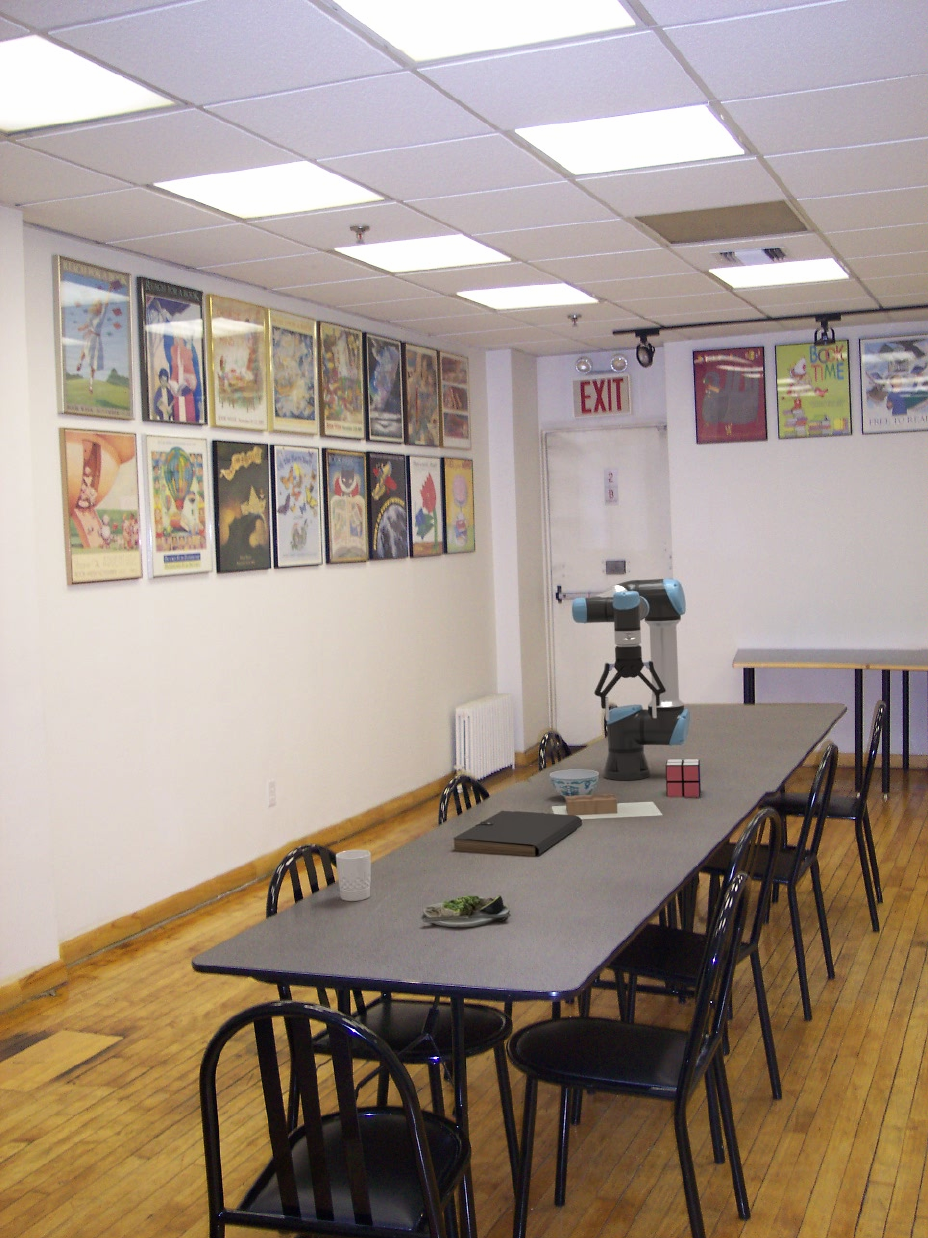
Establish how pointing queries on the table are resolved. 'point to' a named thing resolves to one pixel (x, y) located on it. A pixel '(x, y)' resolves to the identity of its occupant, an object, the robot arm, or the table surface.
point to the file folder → (517, 833)
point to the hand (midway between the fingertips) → (630, 718)
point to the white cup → (354, 874)
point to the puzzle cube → (683, 778)
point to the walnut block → (591, 804)
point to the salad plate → (467, 912)
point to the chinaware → (574, 781)
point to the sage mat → (619, 811)
